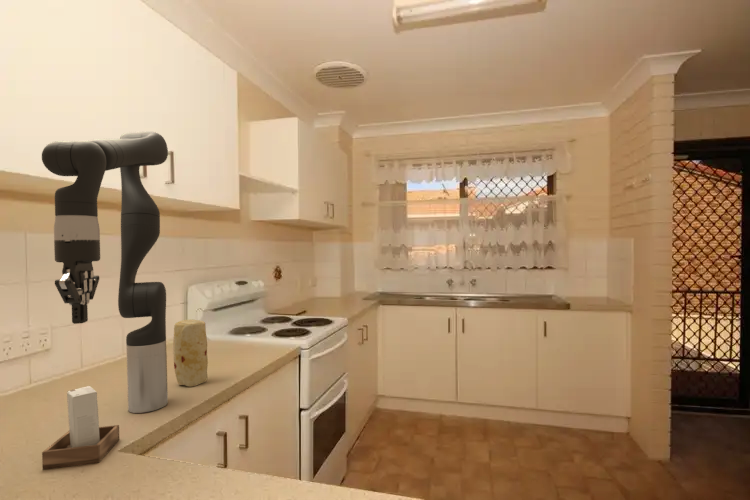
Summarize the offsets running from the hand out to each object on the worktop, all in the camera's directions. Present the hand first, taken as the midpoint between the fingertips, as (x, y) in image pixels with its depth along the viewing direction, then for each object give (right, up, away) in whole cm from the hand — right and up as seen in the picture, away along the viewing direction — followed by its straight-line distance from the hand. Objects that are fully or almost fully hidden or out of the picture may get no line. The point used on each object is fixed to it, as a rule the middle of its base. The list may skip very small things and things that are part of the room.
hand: (79, 322), depth 81 cm
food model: (+4, -27, +42) cm, 50 cm away
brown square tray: (+1, -27, 0) cm, 27 cm away
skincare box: (+1, -26, 0) cm, 26 cm away
